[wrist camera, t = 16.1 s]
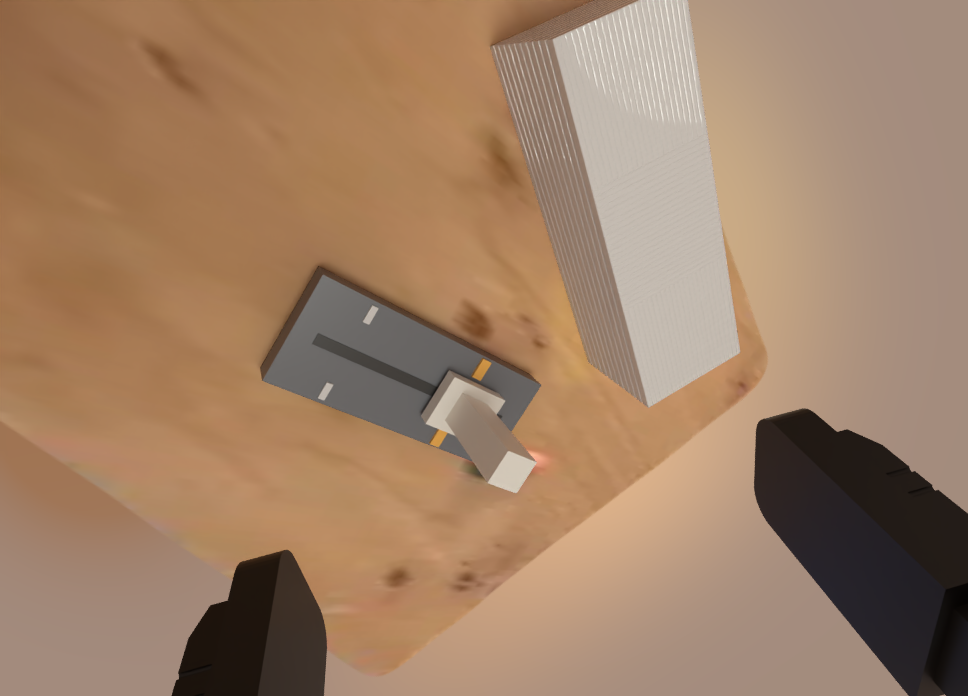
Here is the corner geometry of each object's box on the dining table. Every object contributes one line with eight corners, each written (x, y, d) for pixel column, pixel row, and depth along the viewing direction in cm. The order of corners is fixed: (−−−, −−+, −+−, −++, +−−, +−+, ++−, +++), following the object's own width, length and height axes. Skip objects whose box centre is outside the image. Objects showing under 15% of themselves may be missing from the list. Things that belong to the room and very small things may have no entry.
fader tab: (420, 415, 55) (465, 487, 45) (449, 370, 55) (500, 433, 45) (471, 436, 58) (523, 508, 49) (499, 393, 58) (557, 457, 48)
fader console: (260, 368, 51) (262, 382, 49) (318, 266, 50) (323, 275, 47) (478, 454, 63) (489, 469, 61) (530, 374, 62) (542, 386, 60)
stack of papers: (488, 46, 48) (552, 39, 39) (599, -3, 50) (685, -21, 41) (587, 361, 64) (648, 407, 55) (668, 315, 66) (740, 352, 57)
